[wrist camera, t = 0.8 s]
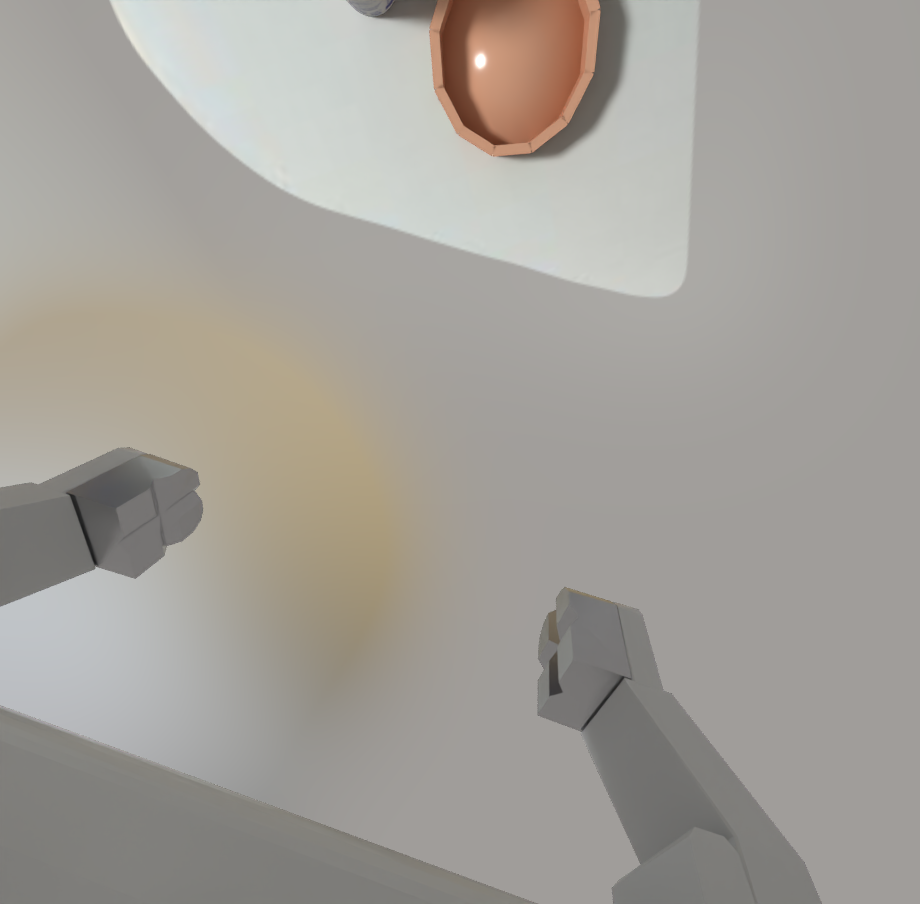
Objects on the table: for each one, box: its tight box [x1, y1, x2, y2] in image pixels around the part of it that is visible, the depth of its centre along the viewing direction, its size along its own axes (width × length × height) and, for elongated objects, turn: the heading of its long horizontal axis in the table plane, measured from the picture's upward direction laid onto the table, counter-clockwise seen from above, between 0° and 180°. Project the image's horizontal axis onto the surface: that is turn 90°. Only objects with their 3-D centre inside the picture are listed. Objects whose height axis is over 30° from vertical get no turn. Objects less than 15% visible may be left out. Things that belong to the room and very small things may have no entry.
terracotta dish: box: [429, 0, 601, 157], centre depth 33 cm, size 14×14×3 cm
